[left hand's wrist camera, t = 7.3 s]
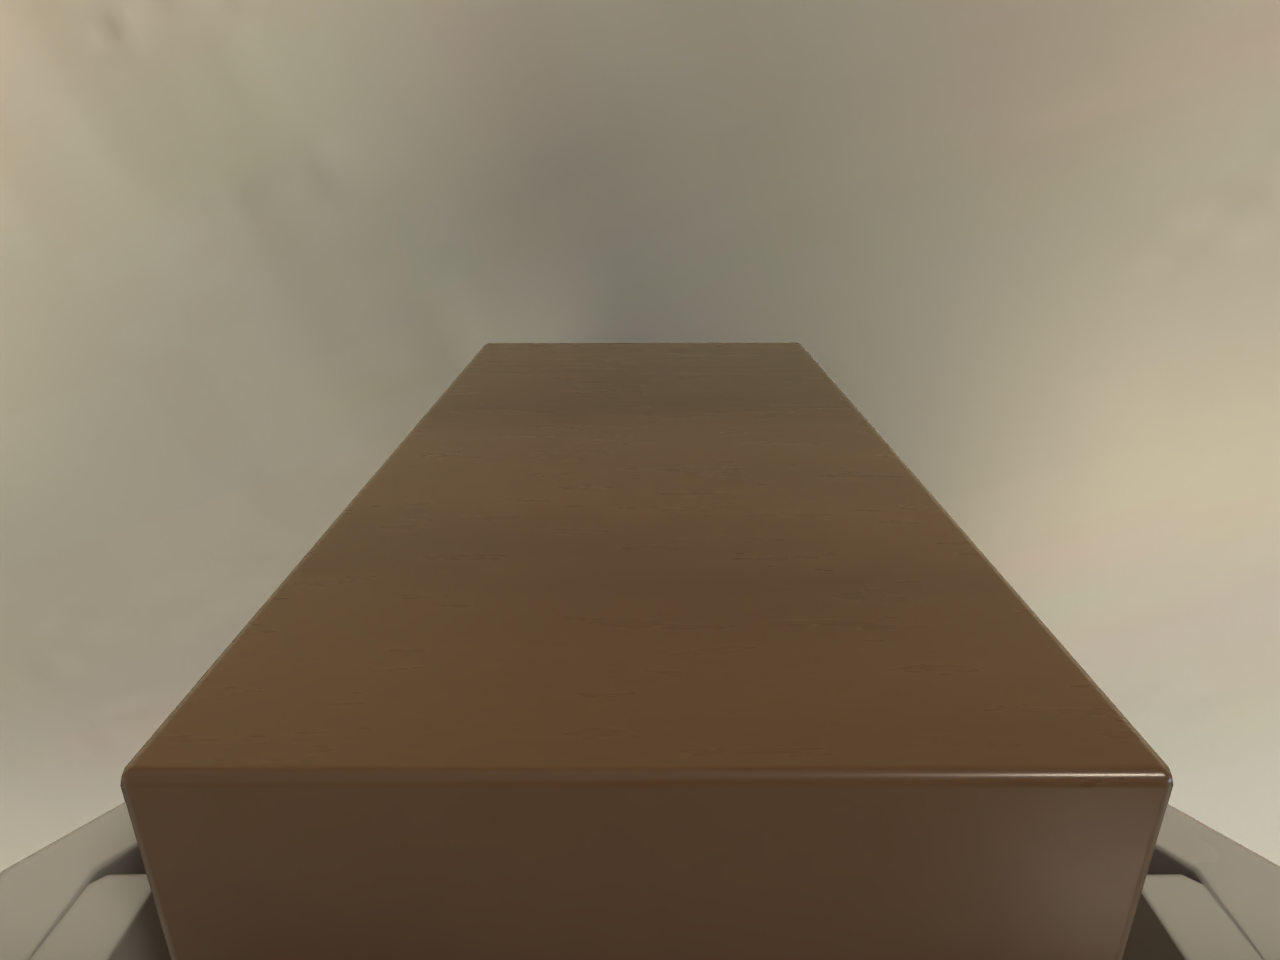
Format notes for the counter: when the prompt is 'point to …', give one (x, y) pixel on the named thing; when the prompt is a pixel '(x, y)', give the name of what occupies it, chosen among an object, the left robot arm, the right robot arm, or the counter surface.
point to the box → (645, 701)
